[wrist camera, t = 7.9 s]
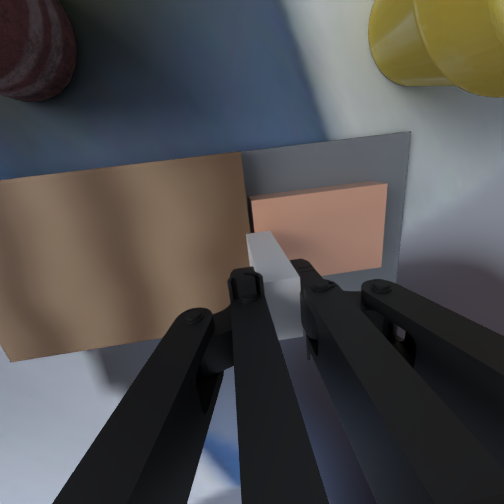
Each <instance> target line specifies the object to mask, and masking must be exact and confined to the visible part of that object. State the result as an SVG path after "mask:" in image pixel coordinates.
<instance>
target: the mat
mask: <svg viewBox="0 0 504 504" xmlns="http://www.w3.org/2000/svg"><path fill="white" fill-rule="evenodd" d="M410 136H411V131H409V132H401V133H393V134H384V135H376V136H368V137H359V138H351V139H343V140H334V141H326V142H318V143H309V144H301V145H293V146H284V147H276V148H268V149H259V150H251V151H243V152H241V158H242V167H243V175H244V184H245V192H246V200H247V209H248V217H249V225H250V233H252V225H251V216H250V207H249V198H248V196H256V195H263V194H271V193H279V192H287V191H295V190H303V189H311V188H319V187H327V186H335V185H343V184H350V183H358V182H366V181H375V182H381V183H388V186H387V199H386V212H385V225H384V238H383V251H382V264H381V267H378V268H372V269H365V270H358V271H351V272H345V273H338V274H331V275H324V276H321V277H322V278H323V279H326V280H331V281H334V282H335V283H337V284H338V285H339V286H340V287H341V289H342V290H343V291H361V285H362V284H363V282H365V281H367V280H373V279H383V280H387V281H391V282H394V283H396V280H397V269H398V260H399V250H400V239H401V229H402V219H403V208H404V198H405V188H406V177H407V167H408V157H409V146H410Z"/></svg>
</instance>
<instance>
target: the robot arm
mask: <svg viewBox="0 0 504 504" xmlns="http://www.w3.org/2000/svg"><path fill="white" fill-rule="evenodd" d="M246 239H247V247H248V255H249V263H250V267H244V268H238V269H234V270H233V271H232V272H231V273H230V278H228V281H227V284H228V290H229V296H230V305H229V306H228V307H227V308H225V309H224V310H222V311H220V312H218V313H215V314H212V312H211V310H209V309H207V308H201V307H198V308H191V309H188V310H186V311H184V312H183V313H181V314H180V315H179V316H178V317H177V318H176V319H175V320H174V322H173V323H172V325H171V326H170V328H169V329H168V331H167V332H166V334H165V335H164V337H163V338H162V340H161V342H160V343H159V344H158V346H157V347H156V349H155V350H154V352H153V353H152V355H151V356H150V358H149V359H148V361H147V362H146V364H145V365H144V367H143V368H142V370H141V371H140V373H139V374H138V376H137V377H136V379H135V380H134V382H133V383H132V385H131V386H130V388H129V389H128V391H127V392H126V394H125V395H124V397H123V398H122V400H121V401H120V403H119V404H118V406H117V407H116V409H115V410H114V412H113V413H112V415H111V416H110V418H109V419H108V421H107V422H106V424H105V425H104V427H103V428H102V430H101V431H100V433H99V434H98V436H97V437H96V439H95V440H94V442H93V443H92V445H91V446H90V448H89V449H88V451H87V452H86V454H85V455H84V457H83V458H82V460H81V461H80V463H79V464H78V466H77V467H76V469H75V470H74V472H73V473H72V475H71V476H70V478H69V479H68V481H67V482H66V484H65V485H64V487H63V488H62V490H61V491H60V493H59V494H58V496H57V497H56V499H55V500H54V502H53V503H52V504H187V501H188V498H189V494H190V491H191V487H192V484H193V481H194V477H195V474H196V470H197V467H198V463H199V460H200V456H201V453H202V449H203V446H204V442H205V439H206V435H207V432H208V428H209V425H210V421H211V418H212V414H213V411H214V407H215V404H216V400H217V397H218V393H219V390H220V386H221V383H222V379H223V374H224V370H225V369H227V368H230V367H232V366H234V374H235V391H236V409H237V425H238V426H237V427H238V445H239V462H240V480H241V497H242V504H329V502H328V499H327V496H326V492H325V489H324V486H323V483H322V479H321V476H320V473H319V469H318V466H317V463H316V460H315V457H314V454H313V450H312V447H311V444H310V441H309V437H308V434H307V431H306V428H305V424H304V421H303V418H302V414H301V411H300V408H299V405H298V402H297V398H296V395H295V392H294V388H293V385H292V382H291V379H290V376H289V372H288V369H287V366H286V363H285V359H284V356H283V353H282V350H281V347H280V343H279V340H284V339H290V338H296V337H302V336H303V327H304V330H305V332H306V345H307V359H308V360H310V354H311V355H312V357H313V360H314V362H315V364H316V366H317V369H318V371H319V373H320V375H321V378H322V380H323V382H324V384H325V387H326V389H327V391H328V393H329V395H330V398H331V400H332V402H333V405H334V407H335V409H336V411H337V414H338V416H339V418H340V420H341V423H342V425H343V427H344V429H345V432H346V434H347V436H348V438H349V441H350V443H351V445H352V447H353V450H354V452H355V454H356V456H357V458H358V461H359V463H360V465H361V468H362V470H363V472H364V474H365V477H366V479H367V481H368V484H369V486H370V488H371V490H372V493H373V495H374V497H375V499H376V501H377V504H504V336H502V335H500V334H498V333H496V332H494V331H492V330H490V329H488V328H486V327H484V326H482V325H480V324H478V323H476V322H473V321H471V320H469V319H467V318H465V317H463V316H461V315H459V314H457V313H455V312H453V311H451V310H449V309H447V308H445V307H443V306H441V305H439V304H437V303H435V302H433V301H431V300H429V299H427V298H425V297H423V296H420V295H418V294H416V293H414V292H412V291H410V290H408V289H406V288H404V287H402V286H400V285H398V284H396V283H394V282H391V281H387V280H383V279H373V280H367V281H365V282H363V284H362V285H361V291H343V290H342V289H341V287H340V286H339V285H338V284H337V283H335V282H334V281H331V280H326V279H323V278H322V277H321V276H320V274H319V273H318V272H317V271H316V270H315V268H314V267H313V266H312V265H311V263H310V262H309V261H307V260H304V259H302V258H301V259H294V260H289V259H288V258H287V256H286V255H285V253H284V252H283V250H282V248H281V247H280V245H279V244H278V242H277V241H276V239H275V238H274V236H273V234H272V233H271V231H264V232H257V233H250V234H246ZM302 325H303V326H302ZM398 326H399V327H401V328H402V329H404V330H405V331H406V334H405V339H402V338H400V337H399V336H397V329H398Z"/></svg>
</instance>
